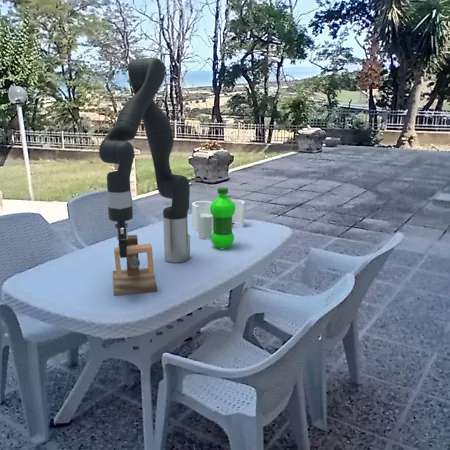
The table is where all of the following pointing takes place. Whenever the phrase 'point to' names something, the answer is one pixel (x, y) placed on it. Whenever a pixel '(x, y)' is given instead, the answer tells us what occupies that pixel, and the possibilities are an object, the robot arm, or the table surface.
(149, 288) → the hook stand
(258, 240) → the table surface
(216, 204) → the plastic bottle
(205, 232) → the drinking glass
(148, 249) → the wooden staple shape
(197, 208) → the white caddy
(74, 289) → the table surface
